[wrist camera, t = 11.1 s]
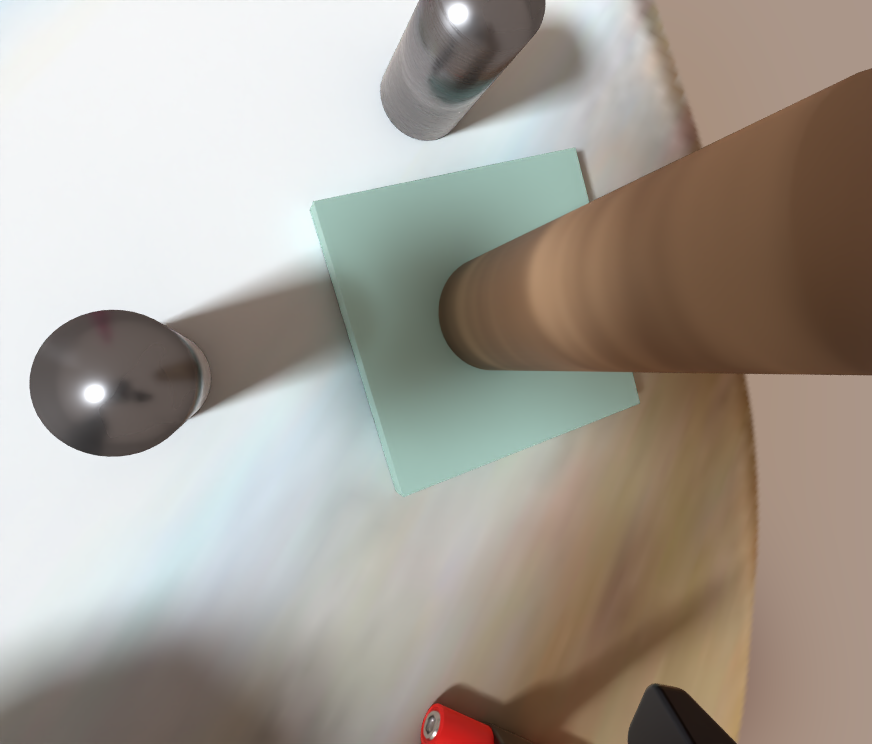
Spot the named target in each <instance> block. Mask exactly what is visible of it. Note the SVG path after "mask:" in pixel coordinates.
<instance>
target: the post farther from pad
mask: <svg viewBox="0 0 872 744" xmlns="http://www.w3.org/2000/svg"><path fill="white" fill-rule="evenodd" d="M210 386H211V371H210V367H209V364H208V361H207V359H206V357H205V355H204V354H203V352H202V351H201V350H200V348H199V347H198V346H197V345H196V344H195V343H193V342H192V341H191V340H190V339H188V338H186V337H184V336H183V335H181V334H179V333H177V332H176V331H174V330H172V329H170V328H169V327H167V326H165V325H163V324H161V323H160V322H158V321H156V320H154V319H152V318H150V317H147V316H145V315H142V314H138V313H135V312H130V311H124V310H102V311H96V312H91V313H88V314H84V315H81V316H79V317H77V318H74V319H72V320H70V321H68V322H67V323H65V324H63V325H62V326H60V327H59V328H58V329H57V330H55V331H54V332H53V333H52V334H51V335H50V336H49V337H48V338H47V339H46V340H45V342H44V343H43V344H42V346H41V347H40V349H39V351H38V353H37V354H36V356H35V359H34V362H33V365H32V368H31V373H30V394H31V399H32V403H33V406H34V408H35V411H36V413H37V415H38V417H39V418H40V420H41V421H42V423H43V424H44V426H45V427H46V428H47V429H48V430H49V431H50V432H51V433H52V434H53V435H54V436H55V437H56V438H58V439H59V440H60V441H62V442H63V443H65V444H67V445H68V446H70V447H72V448H74V449H76V450H79V451H82V452H85V453H88V454H93V455H98V456H108V457H112V456H126V455H132V454H136V453H140V452H142V451H145V450H148V449H150V448H152V447H154V446H156V445H158V444H160V443H161V442H163V441H164V440H166V439H167V438H168V437H169V436H171V435H172V434H173V433H174V432H175V431H176V430H177V429H178V428H179V427H181V426H182V425H183V424H184V423H185V422H186V421H187V420H188V419H189V418H190V417H192V416H193V415H194V414H195V413H196V412H197V411H198V410H199V409H200V408H201V406H202V405H203V403H204V402H205V400H206V398H207V396H208V393H209V390H210Z"/></svg>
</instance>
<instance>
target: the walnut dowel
mask: <svg viewBox="0 0 872 744" xmlns="http://www.w3.org/2000/svg"><path fill="white" fill-rule="evenodd" d="M438 315H439V323H440V327H441V331H442V334H443V336H444V338H445V340H446V342H447V344H448V346H449V347H450V348H451V350H452V351H453V352H454V353H455V354H456V355H457V356H458V357H459V358H460V359H461V360H462V361H464V362H466V363H467V364H469V365H471V366H473V367H476V368H479V369H483V370H505V371H582V372H659V373H737V374H815V375H819V374H820V375H872V69H869V70H865V71H862V72H859V73H857V74H855V75H852V76H850V77H848V78H846V79H844V80H842V81H840V82H838V83H836V84H834V85H832V86H830V87H828V88H825V89H823V90H821V91H819V92H817V93H815V94H813V95H811V96H809V97H807V98H805V99H803V100H801V101H799V102H797V103H794V104H792V105H790V106H788V107H786V108H785V109H782V110H780V111H778V112H776V113H774V114H772V115H770V116H768V117H766V118H763V119H761V120H759V121H757V122H755V123H753V124H751V125H749V126H747V127H745V128H743V129H741V130H739V131H737V132H735V133H733V134H730V135H728V136H726V137H724V138H722V139H720V140H718V141H716V142H714V143H712V144H710V145H708V146H706V147H703V148H701V149H699V150H697V151H695V152H693V153H691V154H689V155H687V156H685V157H683V158H681V159H679V160H677V161H675V162H672V163H670V164H668V165H666V166H664V167H662V168H660V169H658V170H656V171H654V172H652V173H650V174H648V175H646V176H644V177H641V178H639V179H637V180H635V181H633V182H631V183H629V184H627V185H625V186H623V187H621V188H619V189H617V190H615V191H613V192H610V193H608V194H606V195H604V196H602V197H600V198H598V199H596V200H594V201H592V202H590V203H588V204H586V205H584V206H582V207H579V208H577V209H575V210H573V211H571V212H569V213H567V214H565V215H563V216H561V217H559V218H557V219H555V220H553V221H550V222H548V223H546V224H544V225H542V226H540V227H538V228H536V229H534V230H532V231H530V232H528V233H526V234H524V235H522V236H519V237H517V238H515V239H513V240H511V241H509V242H507V243H505V244H503V245H501V246H499V247H497V248H495V249H493V250H491V251H488V252H486V253H484V254H482V255H480V256H478V257H476V258H474V259H472V260H470V261H468V262H466V263H464V264H463V265H461V266H460V267H459V268H457V269H456V270H455V271H454V272H453V273H452V275H451V276H450V277H449V278H448V280H447V282H446V284H445V285H444V288H443V290H442V293H441V296H440V300H439V314H438Z"/></svg>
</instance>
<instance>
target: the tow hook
mask: <svg viewBox="0 0 872 744" xmlns="http://www.w3.org/2000/svg"><path fill="white" fill-rule="evenodd" d="M421 742H422V743H421V744H533V743H532V742H531V741H529V740H526V739H524V738H522V737H520V736H518V735H515V734H513V733H511V732H509V731H506V730H504V729H502V728H500V727H498V726H495V725H493V724H491V723H485V724H483V723H481V722H479V721H477V720H474V719H472V718H470V717H468V716H466V715H463V714H461V713H459V712H457V711H454V710H452V709H450V708H448V707H445V706H443V705H441V704H439V703H436V704H434V705H432V706H431V707H430V708H429V710H428V712H427V713H426V715H425V717H424V720H423V723H422V728H421Z"/></svg>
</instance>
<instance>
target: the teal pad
mask: <svg viewBox="0 0 872 744" xmlns="http://www.w3.org/2000/svg"><path fill="white" fill-rule="evenodd" d="M588 203H589V200H588V196H587V192H586V188H585V184H584V180H583V176H582V172H581V168H580V164H579V160H578V156H577V152H576V148H570V149H565V150H561V151H556V152H551V153H546V154H541V155H536V156H531V157H527V158H522V159H517V160H512V161H507V162H502V163H497V164H493V165H488V166H483V167H478V168H473V169H468V170H463V171H459V172H454V173H449V174H444V175H439V176H434V177H430V178H425V179H420V180H415V181H410V182H405V183H400V184H396V185H391V186H386V187H381V188H376V189H371V190H366V191H362V192H357V193H352V194H347V195H342V196H337V197H332V198H328V199H323V200H318V201H313V204H312V206H311V209H310V212H311V215H312V218H313V222H314V225H315V228H316V231H317V235H318V238H319V241H320V245H321V248H322V251H323V254H324V258H325V261H326V264H327V267H328V271H329V274H330V277H331V281H332V284H333V287H334V290H335V294H336V297H337V300H338V304H339V307H340V310H341V313H342V317H343V320H344V323H345V326H346V330H347V333H348V336H349V340H350V343H351V346H352V349H353V353H354V356H355V359H356V363H357V366H358V369H359V372H360V376H361V379H362V382H363V385H364V389H365V392H366V395H367V399H368V402H369V405H370V408H371V412H372V415H373V418H374V421H375V425H376V428H377V431H378V435H379V438H380V441H381V444H382V448H383V451H384V454H385V458H386V461H387V464H388V467H389V471H390V474H391V477H392V480H393V484H394V487H395V490H396V492H398V493H399V494H400V495H401V496H403V497H405V496H407V495H410V494H412V493H415V492H418V491H420V490H423V489H425V488H428V487H430V486H433V485H435V484H438V483H440V482H443V481H445V480H448V479H450V478H453V477H455V476H458V475H460V474H463V473H466V472H468V471H471V470H473V469H476V468H478V467H481V466H483V465H486V464H488V463H491V462H493V461H496V460H498V459H501V458H503V457H506V456H508V455H511V454H513V453H516V452H519V451H521V450H524V449H526V448H529V447H531V446H534V445H536V444H539V443H541V442H544V441H546V440H549V439H551V438H554V437H556V436H559V435H561V434H564V433H567V432H569V431H572V430H574V429H577V428H579V427H582V426H584V425H587V424H589V423H592V422H594V421H597V420H599V419H602V418H604V417H607V416H609V415H612V414H614V413H617V412H620V411H622V410H625V409H627V408H630V407H632V406H635V405H637V404H640V400H639V397H638V393H637V389H636V385H635V381H634V377H633V373H632V372H582V371H505V370H483V369H479V368H476V367H473V366H471V365H469V364H467V363H466V362H464V361H462V360H461V359H460V358H459V357H458V356H457V355H456V354H455V353H454V352H453V351H452V350H451V348H450V347H449V346H448V344H447V342H446V340H445V338H444V336H443V334H442V331H441V327H440V323H439V315H438V314H439V300H440V296H441V293H442V290H443V288H444V285H445V284H446V282H447V280H448V278H449V277H450V276H451V275H452V273H453V272H454V271H455V270H456V269H457V268H459V267H460V266H461V265H463V264H464V263H466V262H468V261H470V260H472V259H474V258H476V257H478V256H480V255H482V254H484V253H486V252H488V251H491V250H493V249H495V248H497V247H499V246H501V245H503V244H505V243H507V242H509V241H511V240H513V239H515V238H517V237H519V236H522V235H524V234H526V233H528V232H530V231H532V230H534V229H536V228H538V227H540V226H542V225H544V224H546V223H548V222H550V221H553V220H555V219H557V218H559V217H561V216H563V215H565V214H567V213H569V212H571V211H573V210H575V209H577V208H579V207H582V206H584V205H586V204H588Z"/></svg>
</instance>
